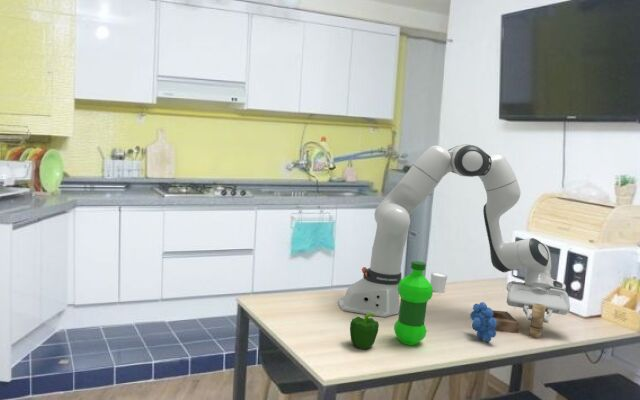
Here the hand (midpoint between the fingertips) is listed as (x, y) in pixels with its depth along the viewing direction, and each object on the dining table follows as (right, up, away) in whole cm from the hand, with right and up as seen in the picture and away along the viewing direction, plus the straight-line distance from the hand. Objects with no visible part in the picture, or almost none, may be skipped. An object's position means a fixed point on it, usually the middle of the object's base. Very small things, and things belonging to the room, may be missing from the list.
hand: (537, 320), depth 185 cm
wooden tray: (-11, -4, +9) cm, 15 cm away
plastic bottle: (-46, -3, -16) cm, 49 cm away
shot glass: (-24, +2, +46) cm, 52 cm away
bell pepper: (-61, -3, -23) cm, 65 cm away
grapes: (-22, -5, -7) cm, 24 cm away
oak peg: (0, -6, +1) cm, 6 cm away
